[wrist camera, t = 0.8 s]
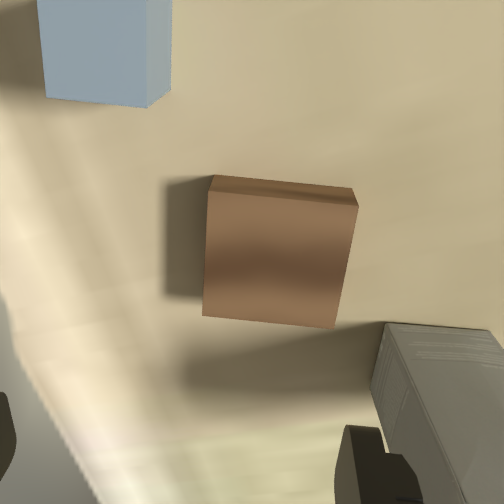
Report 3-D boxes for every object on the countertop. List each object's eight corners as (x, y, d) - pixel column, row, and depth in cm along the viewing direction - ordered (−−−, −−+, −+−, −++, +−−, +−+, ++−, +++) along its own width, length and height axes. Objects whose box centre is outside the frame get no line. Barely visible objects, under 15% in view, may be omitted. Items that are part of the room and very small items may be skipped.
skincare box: (367, 383, 39) (417, 599, 25) (386, 309, 35) (457, 509, 21) (472, 394, 39) (582, 617, 25) (501, 321, 35) (647, 530, 21)
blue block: (83, -14, 27) (34, -18, 22) (172, -4, 27) (145, -7, 22) (88, 81, 29) (46, 97, 24) (170, 89, 29) (146, 108, 24)
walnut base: (215, 172, 32) (208, 190, 29) (351, 186, 32) (358, 206, 29) (208, 288, 36) (202, 315, 33) (329, 301, 36) (333, 329, 33)
